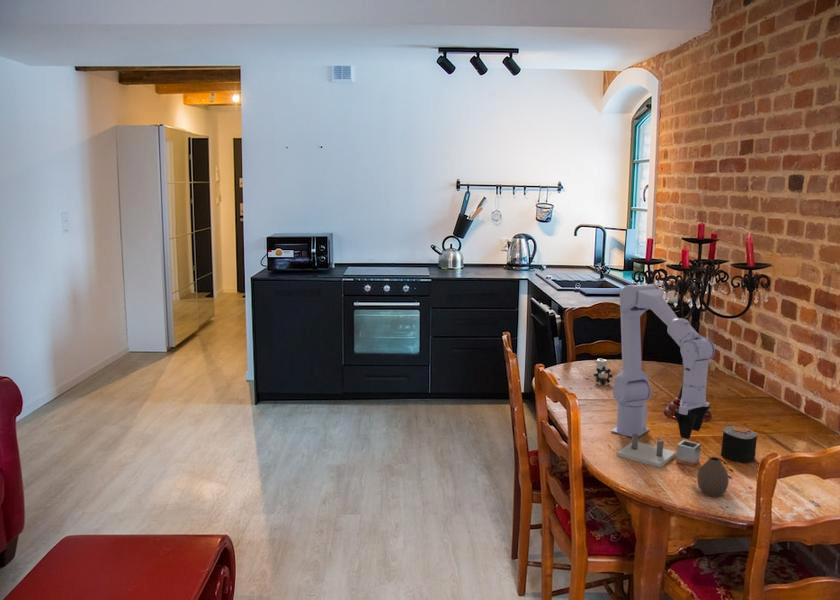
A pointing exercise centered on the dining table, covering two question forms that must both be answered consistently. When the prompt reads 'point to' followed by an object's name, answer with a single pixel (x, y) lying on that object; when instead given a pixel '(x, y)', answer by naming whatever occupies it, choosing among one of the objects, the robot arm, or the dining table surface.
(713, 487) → the vase
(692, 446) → the sleeve
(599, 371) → the valve
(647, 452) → the pin board
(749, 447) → the sushi
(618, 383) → the robot arm
